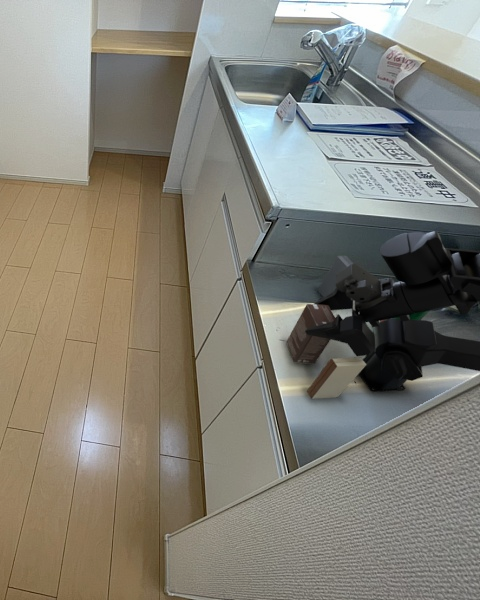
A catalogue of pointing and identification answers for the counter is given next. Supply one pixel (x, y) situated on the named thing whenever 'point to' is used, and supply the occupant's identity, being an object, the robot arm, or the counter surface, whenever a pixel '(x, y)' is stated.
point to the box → (307, 345)
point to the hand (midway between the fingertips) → (307, 320)
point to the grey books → (333, 275)
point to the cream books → (335, 377)
